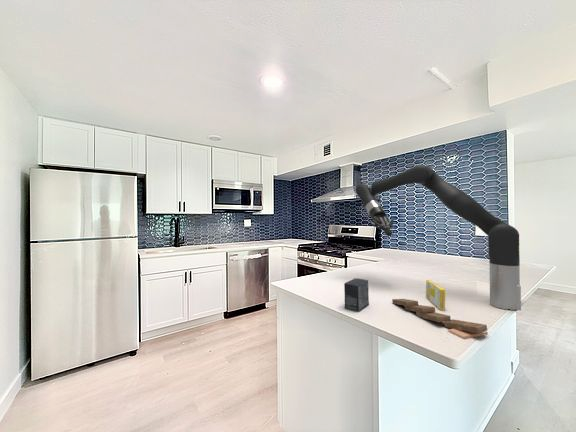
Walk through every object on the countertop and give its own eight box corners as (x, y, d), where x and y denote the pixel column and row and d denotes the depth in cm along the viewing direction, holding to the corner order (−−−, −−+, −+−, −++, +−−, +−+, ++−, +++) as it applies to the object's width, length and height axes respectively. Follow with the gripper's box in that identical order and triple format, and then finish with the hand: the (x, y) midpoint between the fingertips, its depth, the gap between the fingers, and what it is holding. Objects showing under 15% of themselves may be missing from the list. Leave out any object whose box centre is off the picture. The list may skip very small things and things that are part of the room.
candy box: (445, 311, 95) (445, 289, 95) (439, 310, 96) (439, 289, 96) (430, 297, 111) (430, 279, 111) (425, 297, 112) (425, 279, 112)
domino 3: (416, 311, 91) (437, 317, 81) (427, 310, 92) (450, 315, 82) (416, 316, 90) (438, 322, 81) (428, 314, 92) (450, 320, 82)
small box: (354, 301, 107) (354, 277, 107) (369, 304, 102) (369, 279, 103) (343, 308, 98) (343, 282, 98) (359, 312, 94) (358, 285, 94)
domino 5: (463, 336, 73) (487, 331, 76) (448, 329, 78) (471, 325, 81) (463, 342, 73) (487, 337, 76) (448, 334, 78) (471, 330, 81)
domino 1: (392, 299, 104) (406, 301, 95) (402, 298, 105) (417, 301, 95) (392, 303, 104) (406, 306, 94) (403, 302, 105) (418, 305, 95)
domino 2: (404, 305, 97) (422, 308, 88) (415, 304, 98) (434, 307, 89) (405, 309, 97) (423, 312, 87) (415, 308, 98) (435, 311, 88)
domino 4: (443, 321, 81) (478, 327, 73) (452, 319, 84) (486, 324, 75) (444, 326, 81) (479, 333, 72) (453, 324, 83) (487, 330, 75)
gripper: (367, 205, 128) (381, 230, 116) (389, 205, 131) (405, 229, 119) (361, 215, 133) (375, 240, 121) (383, 215, 136) (398, 239, 124)
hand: (390, 234), depth 120 cm, fingers closed
